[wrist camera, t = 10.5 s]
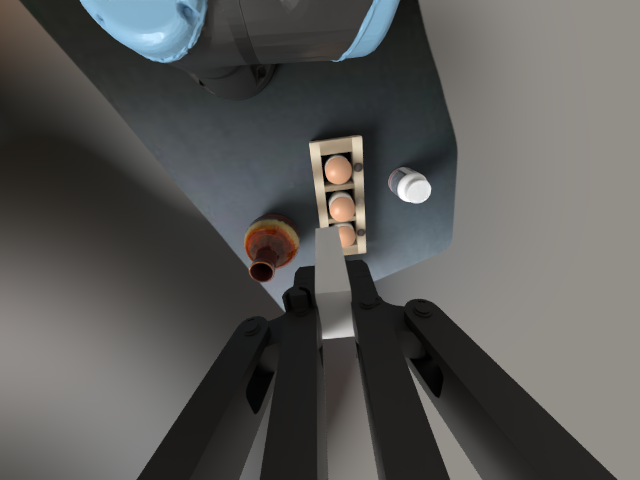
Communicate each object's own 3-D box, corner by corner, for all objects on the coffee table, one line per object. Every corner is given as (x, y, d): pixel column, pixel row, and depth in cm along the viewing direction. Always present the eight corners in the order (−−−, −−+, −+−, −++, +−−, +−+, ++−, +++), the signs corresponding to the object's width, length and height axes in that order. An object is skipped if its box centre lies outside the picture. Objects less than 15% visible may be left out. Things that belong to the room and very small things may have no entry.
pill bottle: (389, 195, 48) (403, 210, 40) (386, 170, 45) (401, 180, 37) (415, 189, 47) (435, 203, 39) (413, 163, 45) (434, 172, 37)
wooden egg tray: (309, 141, 43) (309, 143, 39) (358, 134, 42) (362, 136, 38) (323, 248, 53) (324, 258, 49) (362, 244, 53) (366, 253, 49)
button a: (323, 155, 43) (323, 159, 39) (347, 152, 43) (350, 155, 39) (325, 180, 45) (326, 185, 41) (349, 177, 45) (352, 182, 41)
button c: (330, 219, 49) (331, 228, 45) (351, 217, 49) (355, 225, 45) (332, 238, 51) (333, 248, 47) (353, 236, 51) (356, 246, 47)
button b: (327, 192, 44) (328, 199, 40) (351, 189, 44) (354, 196, 40) (329, 214, 46) (331, 223, 42) (352, 211, 46) (355, 220, 42)
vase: (311, 230, 51) (309, 269, 37) (281, 261, 55) (269, 308, 41) (271, 197, 47) (252, 228, 34) (241, 234, 51) (213, 275, 37)
